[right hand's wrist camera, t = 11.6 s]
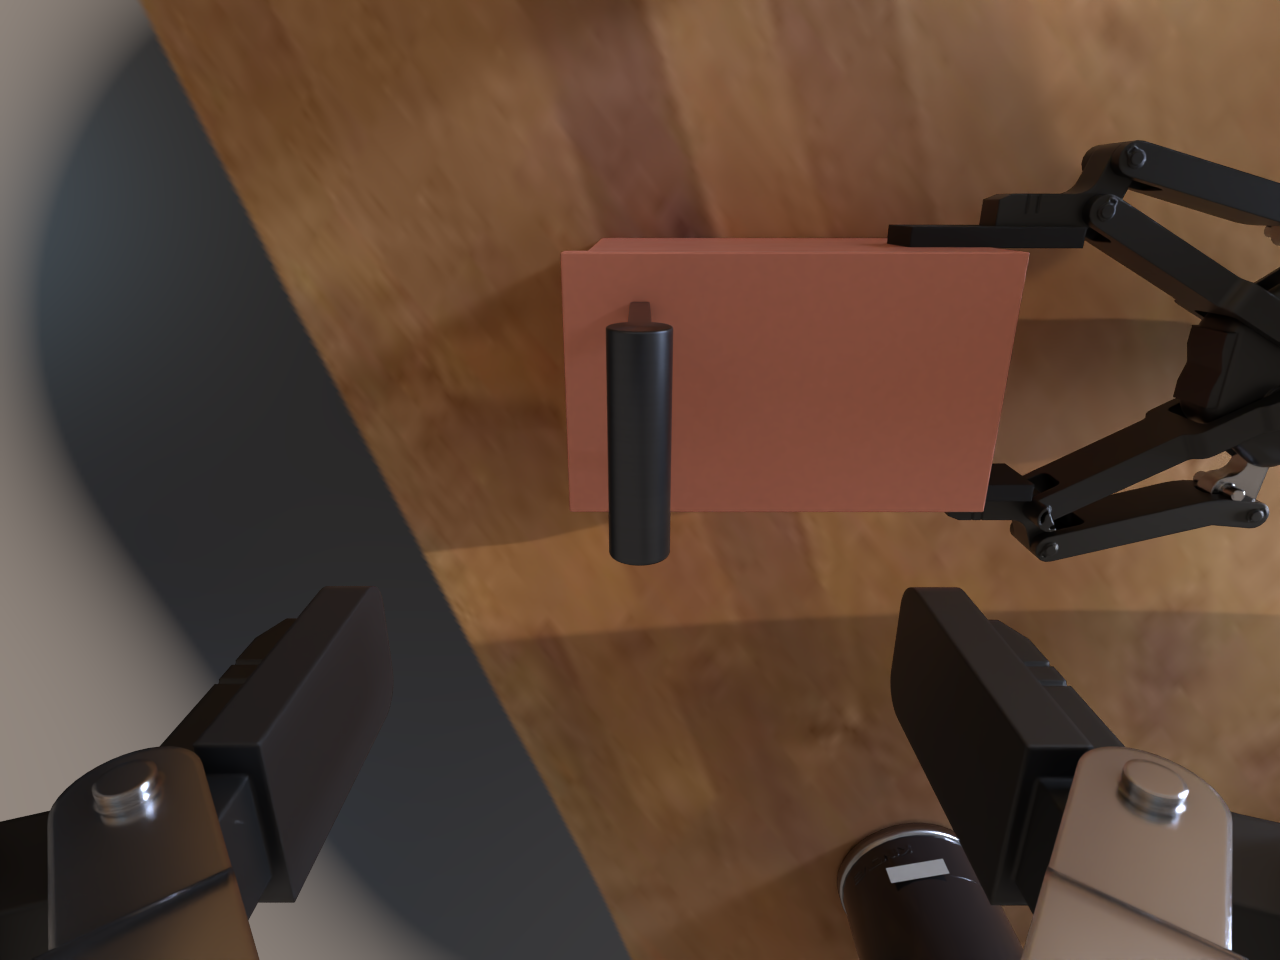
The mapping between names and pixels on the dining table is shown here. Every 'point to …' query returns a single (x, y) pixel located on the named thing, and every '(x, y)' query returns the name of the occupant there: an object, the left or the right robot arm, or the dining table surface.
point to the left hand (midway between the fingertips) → (883, 366)
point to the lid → (782, 382)
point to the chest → (764, 245)
